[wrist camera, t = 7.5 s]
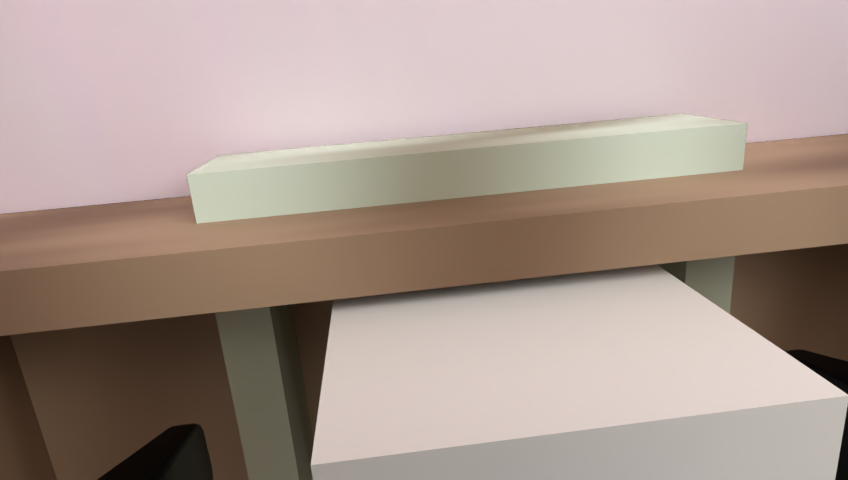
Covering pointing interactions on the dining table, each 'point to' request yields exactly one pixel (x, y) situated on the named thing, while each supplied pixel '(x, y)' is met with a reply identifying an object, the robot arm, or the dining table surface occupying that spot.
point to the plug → (566, 387)
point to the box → (381, 271)
